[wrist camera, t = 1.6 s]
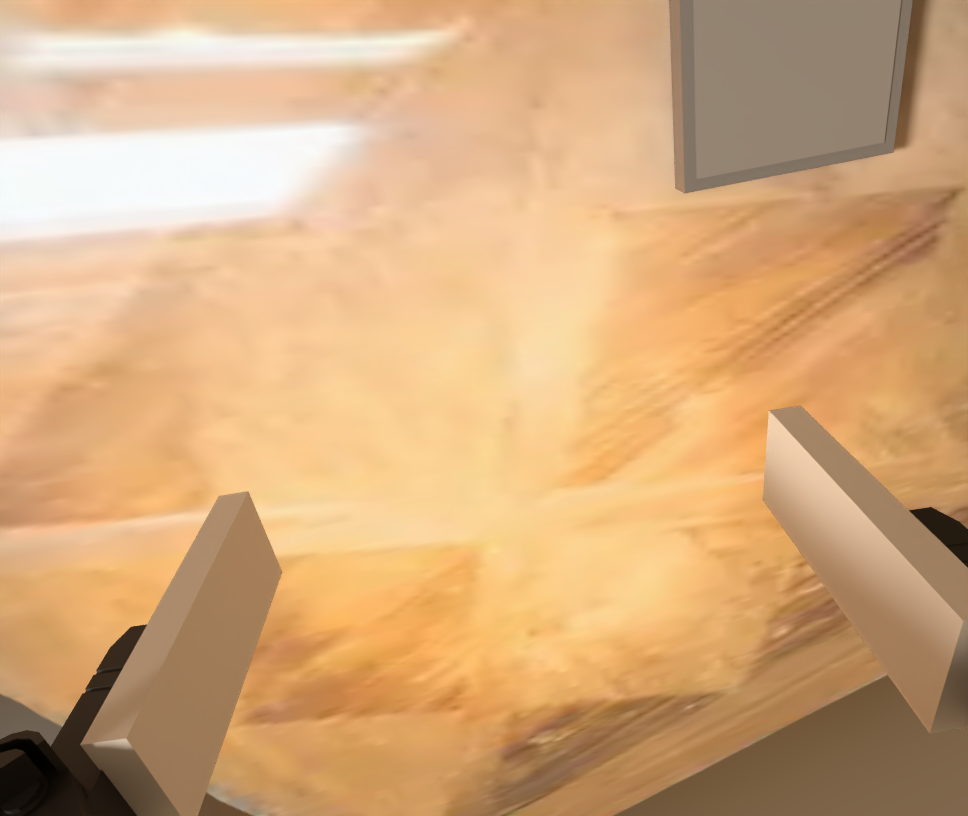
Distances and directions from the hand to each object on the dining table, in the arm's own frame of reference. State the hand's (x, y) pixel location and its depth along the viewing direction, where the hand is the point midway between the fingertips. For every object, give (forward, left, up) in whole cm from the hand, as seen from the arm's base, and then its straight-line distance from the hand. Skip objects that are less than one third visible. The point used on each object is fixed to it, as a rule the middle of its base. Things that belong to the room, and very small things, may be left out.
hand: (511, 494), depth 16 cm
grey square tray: (-7, +21, -33) cm, 40 cm away
